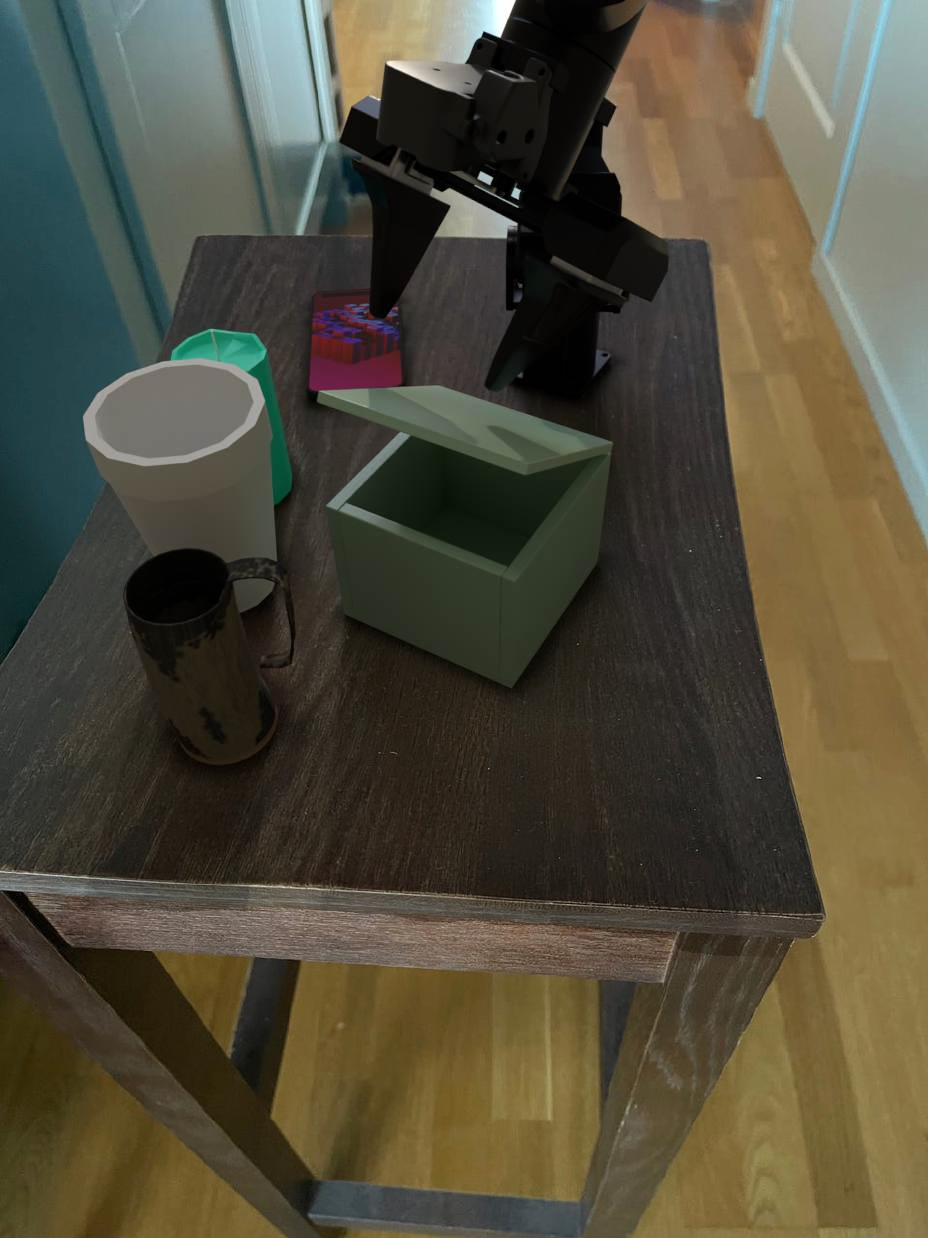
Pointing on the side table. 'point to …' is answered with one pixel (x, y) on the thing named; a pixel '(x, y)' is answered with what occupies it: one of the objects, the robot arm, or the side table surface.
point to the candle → (255, 362)
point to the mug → (205, 650)
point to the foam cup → (190, 461)
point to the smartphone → (353, 344)
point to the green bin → (466, 551)
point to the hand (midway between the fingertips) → (431, 352)
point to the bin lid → (470, 426)
